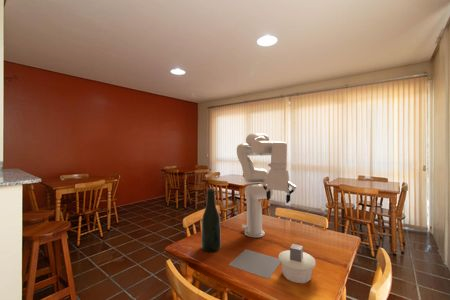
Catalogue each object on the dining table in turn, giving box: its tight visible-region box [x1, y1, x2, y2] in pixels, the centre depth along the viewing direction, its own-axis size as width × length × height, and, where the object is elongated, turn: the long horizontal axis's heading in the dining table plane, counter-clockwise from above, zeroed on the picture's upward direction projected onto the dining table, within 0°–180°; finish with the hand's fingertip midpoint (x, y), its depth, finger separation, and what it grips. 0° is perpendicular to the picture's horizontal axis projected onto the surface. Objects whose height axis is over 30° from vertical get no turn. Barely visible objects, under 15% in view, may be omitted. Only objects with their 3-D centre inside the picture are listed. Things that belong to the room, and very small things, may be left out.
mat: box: [228, 249, 281, 280], centre depth 103 cm, size 20×18×1 cm
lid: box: [277, 243, 316, 270], centre depth 92 cm, size 15×15×6 cm
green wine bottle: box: [201, 187, 222, 253], centre depth 118 cm, size 10×10×33 cm
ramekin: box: [281, 264, 314, 284], centre depth 92 cm, size 13×13×7 cm
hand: (278, 200), depth 107 cm, fingers open, 9 cm apart
